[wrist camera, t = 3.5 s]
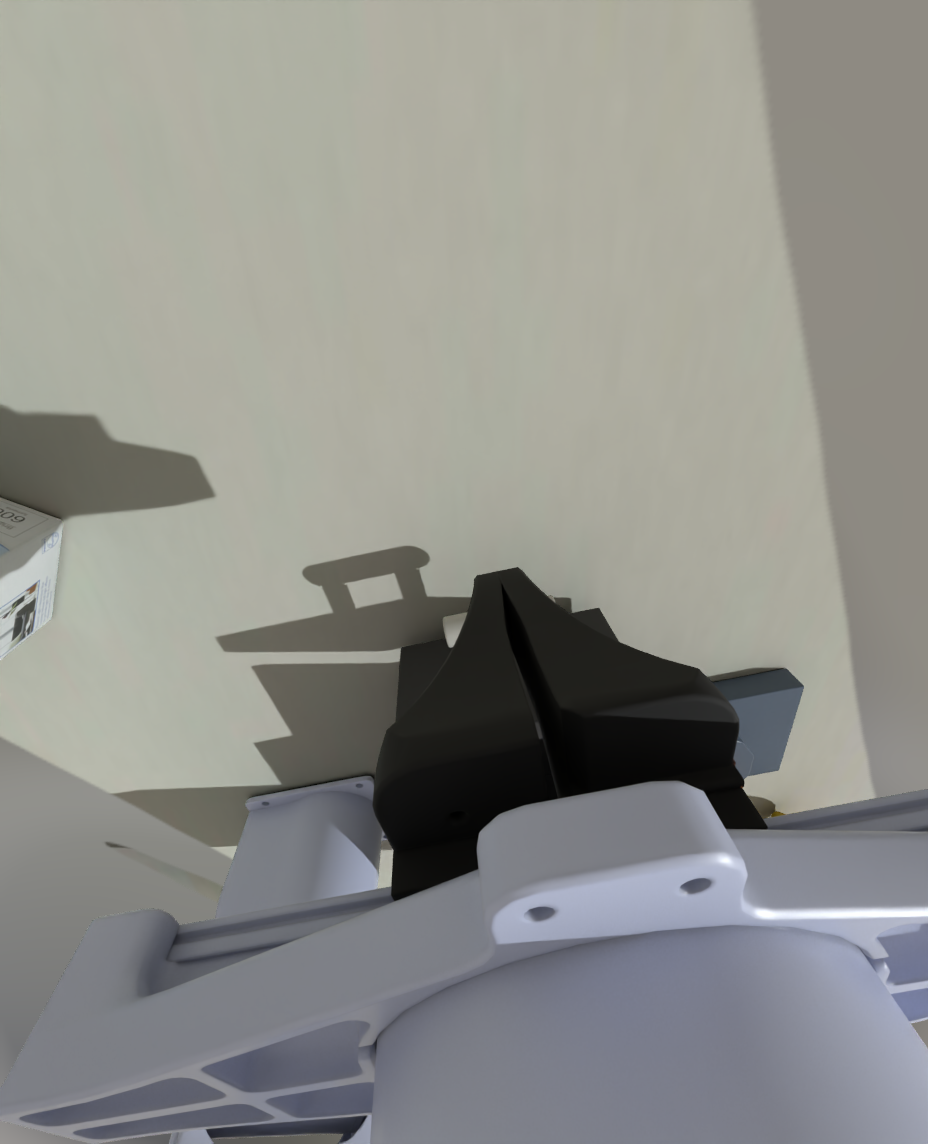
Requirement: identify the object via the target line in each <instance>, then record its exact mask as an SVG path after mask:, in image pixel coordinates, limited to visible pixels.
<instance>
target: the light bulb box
mask: <svg viewBox="0 0 928 1144" xmlns="http://www.w3.org/2000/svg"><path fill="white" fill-rule="evenodd" d="M62 532H63V521H62V520H60V519H58V518H55V517H52V516H50V515H47V514H44V513H41V512H39V511H36V510H33V509H31V508H28V507H25V506H22V505H20V504H17V503H14V502H11V501H9V500H6V499H3V498H1V497H0V660H2V659H3V658H4V657H5V656H7V655H8V654H9V653H10V652H11V651H13V650H14V649H15V648H16V647H17V646H19V645H20V644H21V643H22V642H24V641H25V640H26V639H27V638H29V637H30V636H31V635H32V634H34V633H35V632H36V631H37V630H38V629H40V628H41V627H42V626H43V625H45V624H46V623H47V622H48V621H49V620H51V618H52V612H53V604H54V596H55V587H56V580H57V572H58V564H59V556H60V548H61V541H62Z"/></svg>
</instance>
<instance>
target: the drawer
mask: <svg viewBox="0 0 928 1144" xmlns="http://www.w3.org/2000/svg"><path fill="white" fill-rule="evenodd" d="M548 597H549V598H550V599H552V600H553V601H554V602H555V600H554V598H553V596H551V595H550V596H548ZM570 614H571V615H572V616H574V617H575V618H577V619H578V620H579V621H581V622H583V623H584V624H586V625H587V626H589V627H591V628H592V629H594V630H596V631H598V632H600V633H602V634H603V635H605V636H608V637H610V638H612V639H614V640H616V641H618V639H617V638H616V636H615V634H614V633H613V631H612V629H611V628H610V626H609V624H608V622H607V621H606V619H605V617H604V616H603V614H602V612H601V611H600V609H599V608H595V609H590V610H585V611H580V612H575V613H570ZM466 615H467V612H466V613H461V614H456V615H451V616H446V617H444V618H443V627H444V633H445V638H446V639H441V640H436V641H431V642H426V643H421V644H416V645H411V646H406V647H402V648H401V654H400V668H399V682H398V696H397V710H396V721H397V720H398V719H399V718H400V717H401V716H402V715H403V714H404V713H405V712H406V711H407V710H408V709H409V708H411V706H412V705H413V704H414V703H415V702H416V701H417V699H418V698H419V697H420V696H421V694H422V693H423V692H424V691H425V690H426V688H427V687H428V686H429V685H430V683H431V682H432V681H433V679H434V678H435V676H436V675H437V673H438V672H439V670H440V669H441V667H442V665H443V664H444V662H445V661H446V659H447V657H448V655H449V654H450V652H451V650H452V648H453V646H454V644H455V642H456V640H457V638H458V636H459V633H460V631H461V628H462V626H463V623H464V621H465V618H466ZM618 642H619V641H618ZM514 659H515V656H514ZM515 663H516V666H517V669H518V672H519V676H520V679H521V682H522V685H523V688H524V691H525V694H526V697H527V700H528V703H529V706H530V709H531V712H532V715H533V718H534V722H535V725H536V729H537V733H538V737H539V741H540V746H541V752H542V759H543V765H544V772H545V778H546V785H547V791H548V797H549V801H550V800H555V799H558V796H557V792H556V788H555V784H554V780H553V776H552V772H551V768H550V764H549V760H548V756H547V753H546V749H545V745H544V741H543V737H542V733H541V729H540V726H539V723H538V720H537V716H536V713H535V711H534V708H533V705H532V703H531V700H530V697H529V694H528V692H527V689H526V686H525V683H524V681H523V678H522V675H521V673H520V670H519V667H518V664H517V662H516V659H515Z"/></svg>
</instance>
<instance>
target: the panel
mask: <svg viewBox="0 0 928 1144" xmlns="http://www.w3.org/2000/svg"><path fill="white" fill-rule="evenodd" d="M713 684H714V685H715V686H716V687H717V688H718V689H719V690H720V691H721V693H722V694H723V695H724V696H725V697H726V699H727V700H728V701H729V703H730V704H731V705H732V706H733V708H734V709H735V711H736V713H737V715H738V717H739V734H738V739H737V744H736V749H735V753H734V758H733V764H734V765H735V767H736V768H737V770H738V771H739V773H740V774H741V775H742V777H743V779H745V778H746V777H747V776H751V775H757V774H762V773H767V772H773V771H778V770H779V768H780V765H781V761H782V758H783V755H784V751H785V748H786V745H787V742H788V738H789V735H790V732H791V728H792V725H793V722H794V719H795V715H796V712H797V709H798V705H799V702H800V699H801V696H802V692H803V689H804V686H803V685H802V684H801V683H800V682H799V681H798V680H797V679H796V678H795V677H794V676H793V675H792V674H791V673H790V672H789V671H788V670H787V669H780V670H775V671H770V672H765V673H759V674H754V675H749V676H744V677H739V678H734V679H728V680H723V681H718V682H713Z"/></svg>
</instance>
